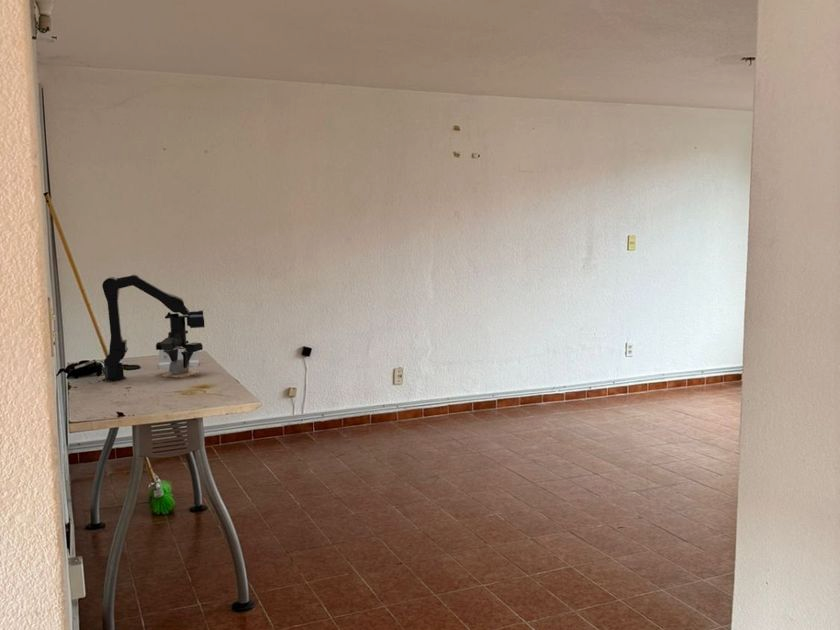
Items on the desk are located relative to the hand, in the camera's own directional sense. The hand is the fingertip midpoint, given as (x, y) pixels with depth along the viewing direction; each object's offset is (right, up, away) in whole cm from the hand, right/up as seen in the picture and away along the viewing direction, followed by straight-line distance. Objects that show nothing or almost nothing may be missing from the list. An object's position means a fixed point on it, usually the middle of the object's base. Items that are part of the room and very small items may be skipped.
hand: (180, 367), depth 318 cm
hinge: (-6, -1, +18) cm, 19 cm away
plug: (+2, 0, 0) cm, 2 cm away
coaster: (0, -3, 0) cm, 3 cm away
